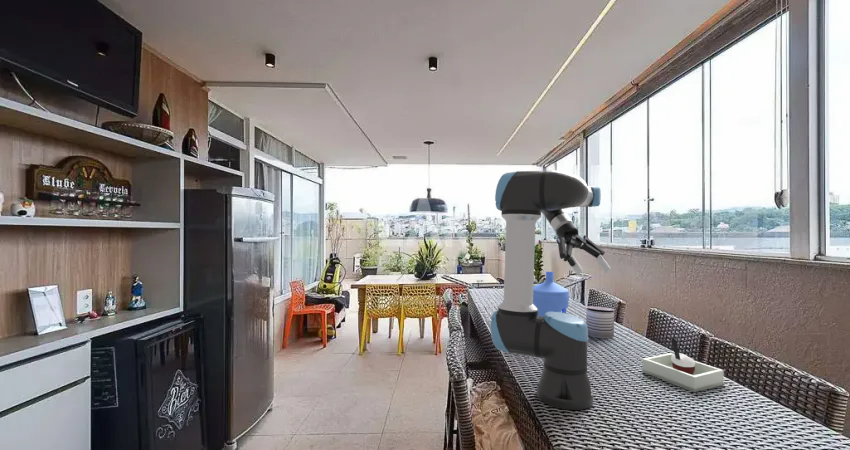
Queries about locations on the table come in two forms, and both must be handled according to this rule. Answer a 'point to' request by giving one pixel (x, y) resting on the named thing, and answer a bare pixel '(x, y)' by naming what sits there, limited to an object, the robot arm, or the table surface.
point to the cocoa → (682, 360)
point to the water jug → (550, 296)
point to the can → (600, 322)
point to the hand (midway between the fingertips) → (594, 271)
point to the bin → (683, 373)
